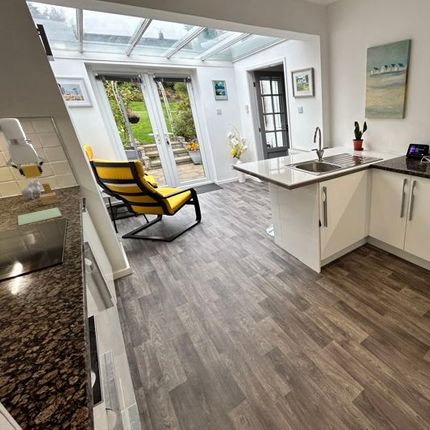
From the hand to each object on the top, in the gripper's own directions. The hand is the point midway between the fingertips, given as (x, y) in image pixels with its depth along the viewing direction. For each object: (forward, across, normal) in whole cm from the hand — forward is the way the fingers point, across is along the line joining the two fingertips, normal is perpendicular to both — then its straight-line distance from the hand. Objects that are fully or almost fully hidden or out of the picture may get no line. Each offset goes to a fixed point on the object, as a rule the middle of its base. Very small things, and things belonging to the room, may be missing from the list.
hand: (32, 174), depth 149 cm
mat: (+19, +4, +19) cm, 28 cm away
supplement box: (+20, -4, -23) cm, 31 cm away
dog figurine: (+20, +3, -34) cm, 39 cm away
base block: (+19, -2, -9) cm, 22 cm away
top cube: (+1, 0, 0) cm, 1 cm away
